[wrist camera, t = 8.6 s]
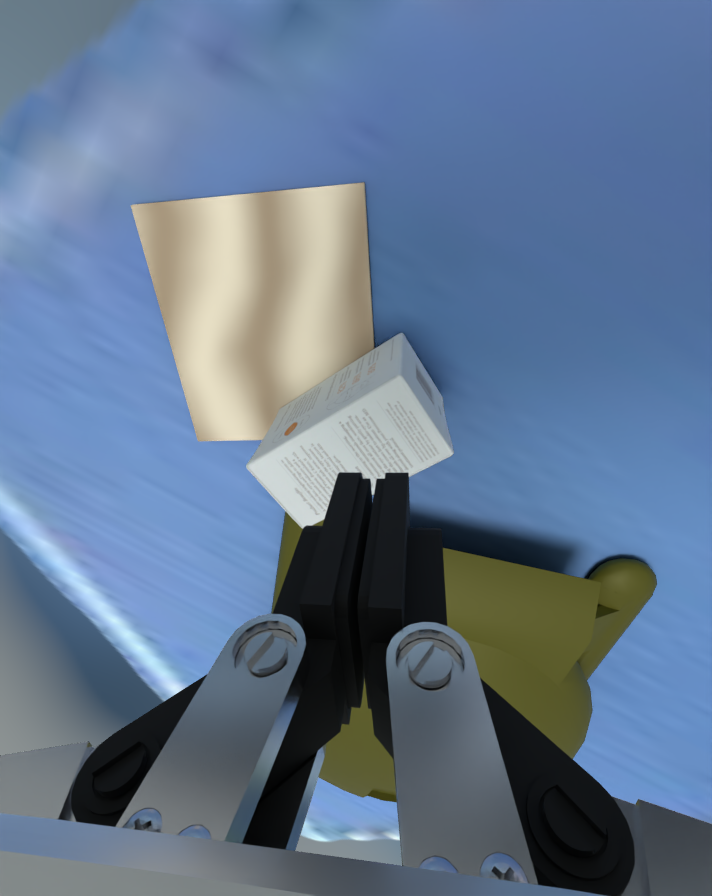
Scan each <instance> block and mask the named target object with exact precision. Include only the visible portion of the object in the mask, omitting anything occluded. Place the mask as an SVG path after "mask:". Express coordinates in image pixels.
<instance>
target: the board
mask: <svg viewBox="0 0 712 896" xmlns="http://www.w3.org/2000/svg"><path fill="white" fill-rule="evenodd" d="M131 208H132V212H133V215H134V219H135V222H136V226H137V229H138V233H139V236H140V240H141V243H142V247H143V250H144V254H145V257H146V261H147V264H148V268H149V271H150V275H151V278H152V282H153V285H154V289H155V292H156V296H157V299H158V303H159V306H160V310H161V313H162V317H163V320H164V324H165V327H166V331H167V334H168V338H169V341H170V345H171V348H172V352H173V355H174V359H175V362H176V366H177V369H178V373H179V376H180V380H181V383H182V387H183V390H184V394H185V397H186V401H187V404H188V408H189V411H190V415H191V418H192V422H193V425H194V429H195V432H196V436H197V439H198V441H233V440H263V439H264V437H265V435H266V434H267V432H268V430H269V429H270V427H271V425H272V423H273V422H274V420H275V418H276V416H277V413H278V411H279V409H280V408H282V407H284V406H285V405H287V404H288V403H290V402H292V401H293V400H295V399H296V398H298V397H299V396H301V395H303V394H304V393H306V392H307V391H309V390H310V389H312V388H313V387H315V386H317V385H318V384H320V383H321V382H323V381H324V380H326V379H327V378H329V377H331V376H332V375H334V374H335V373H337V372H338V371H340V370H342V369H343V368H345V367H346V366H348V365H349V364H351V363H353V362H354V361H356V360H357V359H359V358H361V357H362V356H364V355H365V354H367V353H368V352H370V351H372V350H373V349H375V347H374V330H373V313H372V296H371V279H370V262H369V246H368V229H367V212H366V195H365V183H354V184H344V185H333V186H323V187H313V188H302V189H292V190H282V191H271V192H261V193H251V194H240V195H230V196H219V197H209V198H199V199H188V200H178V201H168V202H157V203H147V204H137V205H131Z"/></svg>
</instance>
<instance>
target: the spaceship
mask: <svg viewBox="0 0 712 896" xmlns="http://www.w3.org/2000/svg"><path fill="white" fill-rule="evenodd" d="M323 522H324V520H322V521H320V522H318V523H316V524H314V525H312V526H322V525H323ZM302 530H303V529H302V528H301V527H300V526H299V525H298V524H297V523H296V522H295V521H294V520H293V518H292V517H291V516H290V515H289V514H288V513H287V512H286V511H285V518H284V525H283V532H282V540H281V547H280V554H279V561H278V569H277V576H276V583H275V590H274V597H273V605H272V612H271V614H272V613H273V611H274V608H275V605H276V602H277V599H278V597H279V594H280V591H281V588H282V585H283V583H284V580H285V577H286V574H287V571H288V569H289V566H290V563H291V560H292V557H293V555H294V552H295V549H296V546H297V543H298V541H299V538H300V535H301V532H302ZM443 560H444V577H445V594H446V610H447V626H448V627H450V628H451V629H453V630H454V631H456V632H457V633H459V634H460V635H461V636H462V637H463V638H464V639H465V641H466V642H467V643H468V644H469V647H470V649H471V651H472V653H473V655H474V659H475V662H476V666H477V669H478V673H479V676H480V678H481V679H482V680H483V681H484V682H486V683H487V684H488V685H489V686H490V687H491V688H492V689H494V690H495V691H496V692H497V693H498V694H499V695H500V696H501V697H503V698H504V699H505V700H506V701H507V702H508V703H509V704H510V705H512V706H513V707H514V708H515V709H516V710H517V711H518V712H520V713H521V714H522V715H523V716H524V717H525V718H526V719H527V720H529V721H530V722H531V723H532V724H533V725H534V726H535V727H536V728H538V729H539V730H540V731H541V732H542V733H543V734H544V735H545V736H547V737H548V738H549V739H550V740H551V741H552V742H553V743H555V744H556V745H557V746H558V747H559V748H560V749H561V750H562V751H564V752H565V753H566V754H567V755H568V756H569V757H570V758H571V759H573V758H574V756H575V755H576V753H577V752H578V750H579V749H580V747H581V746H582V744H583V742H584V741H585V737H586V734H587V730H588V726H589V722H590V718H591V714H592V701H591V691H590V687H589V685H588V682H587V680H588V678H589V677H590V676H591V674H592V673H593V672H594V671H595V669H596V668H597V667H598V665H599V664H600V663H601V661H602V660H603V659H604V658H605V656H606V655H607V654H608V652H609V651H610V650H611V648H612V647H613V646H614V645H615V643H616V642H617V641H618V639H619V638H620V637H621V635H622V634H623V633H624V632H625V630H626V629H627V628H628V626H629V625H630V624H631V622H632V621H633V620H634V618H635V617H636V616H637V615H638V613H639V612H640V611H641V609H642V608H643V607H644V605H645V604H646V603H647V602H648V600H649V599H650V598H651V596H652V595H653V592H654V590H655V588H656V585H657V580H656V575H655V574H654V572H653V571H652V569H651V568H650V567H649V566H648V565H647V564H645V563H643V562H641V561H638V560H635V559H624V558H619V559H614V560H609V561H607V562H605V563H603V564H601V565H600V566H599V567H598V568H597V569H596V570H595V571H594V572H593V573H591V575H590V576H589V578H588V579H584V578H579V577H574V576H570V575H565V574H561V573H556V572H552V571H547V570H542V569H538V568H533V567H529V566H524V565H520V564H515V563H510V562H506V561H501V560H497V559H492V558H488V557H483V556H478V555H474V554H469V553H465V552H460V551H456V550H451V549H446V548H443ZM326 744H327V745H326V751H325V757H324V760H323V763H322V767H321V770H320V773H319V776H318V777H319V778H321V779H323V780H325V781H327V782H329V783H331V784H333V785H334V786H336V787H338V788H340V789H342V790H344V791H347V792H349V793H352V794H355V795H357V796H360V797H365V796H371V797H374V798H377V799H380V800H384V801H392V802H397V799H396V787H395V775H394V764H393V758H392V757H391V756H390V754H389V753H388V752H387V751H386V749H385V748H384V747H383V746H382V744H381V743H380V742H379V740H378V739H377V738H376V737H375V735H374V729H373V720H372V711H371V709H368V703H367V695H366V686H365V679H364V687H363V696H362V703H361V707H360V708H353V707H352V709H351V716H350V723H349V725H346V724H342V725H341V732H340V733H338V734H337V735H336V736H335V737H334V738H332V739H331V740H330V741H329V742H328V743H326Z"/></svg>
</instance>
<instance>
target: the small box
mask: <svg viewBox="0 0 712 896" xmlns="http://www.w3.org/2000/svg"><path fill="white" fill-rule="evenodd" d="M453 453H454V450H453V445H452V442H451V438H450V434H449V430H448V426H447V422H446V417H445V412H444V406H443V397H442V395H441V394H440V392H439V390H438V389H437V387H436V386H435V384H434V382H433V381H432V379H431V377H430V376H429V374H428V373H427V371H426V370H425V368H424V366H423V365H422V363H421V361H420V360H419V358H418V357H417V355H416V353H415V352H414V350H413V348H412V347H411V345H410V344H409V342H408V340H407V339H406V337H405V335H404V334H403V333H399V334H397V335H396V336H394V337H393V338H391V339H389V340H388V341H386V342H384V343H383V344H381V345H380V346H378V347H376V348H375V349H373V350H372V351H370V352H368V353H367V354H365V355H364V356H362V357H361V358H359V359H357V360H356V361H354V362H353V363H351V364H349V365H348V366H346V367H345V368H343V369H342V370H340V371H338V372H337V373H335V374H334V375H332V376H331V377H329V378H327V379H326V380H324V381H323V382H321V383H320V384H318V385H317V386H315V387H313V388H312V389H310V390H309V391H307V392H306V393H304V394H303V395H301V396H299V397H298V398H296V399H295V400H293V401H292V402H290V403H288V404H287V405H285V406H284V407H282V408H280V409H279V411H278V413H277V416H276V418H275V420H274V422H273V423H272V425H271V427H270V429H269V430H268V432H267V434H266V435H265V437H264V439H263V440H262V442H261V444H260V445H259V447H258V449H257V450H256V452H255V453H254V455H253V456H252V458H251V459H250V461H249V462H248V463H247V465H246V467H247V469H248V470H249V471H250V472H251V474H252V475H253V476H254V477H255V478H256V479H257V480H258V481H259V482H260V484H261V485H262V486H263V487H264V488H265V489H266V490H267V491H268V492H269V493H270V494H271V496H272V497H273V498H274V499H275V500H276V501H277V502H278V503H279V504H280V505H281V506H282V508H283V509H284V510H285V511H286V512H287V513H288V514H289V515H290V516H291V517H292V518H293V520H294V521H295V522H296V523H297V524H298V525H299V526H300V527H301V528H302V529H303V528H304V527H305V526H306V525H311V526H312V525H314V524H316V523H318V522H320V521H322V520H324V519H325V515H326V512H327V509H328V505H329V502H330V499H331V495H332V492H333V489H334V485H335V482H336V479H337V475H338V473H339V472H361V473H362V476H363V478H370V480H371V490H372V495H374V492H375V486H376V480H377V478H378V479H385V473H409V477H410V476H412V475H414V474H416V473H418V472H420V471H422V470H424V469H426V468H428V467H430V466H432V465H434V464H436V463H438V462H440V461H442V460H444V459H446V458H448V457H450V456H452V455H453Z"/></svg>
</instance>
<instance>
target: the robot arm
mask: <svg viewBox="0 0 712 896" xmlns="http://www.w3.org/2000/svg"><path fill="white" fill-rule="evenodd" d="M364 679H365V686H366V695H367V703H368V709H371V711H372V720H373V729H374V735H375V737H376V738H377V739H378V740H379V742H380V743H381V744H382V746H383V747H384V748H385V749H386V751H387V752H388V753H389V754H390V756H391V757H392V758H393V764H394V775H395V787H396V799H397V811H398V822H399V834H400V846H401V858H402V866H400V865H393V864H385V863H378V862H371V861H364V860H356V859H349V858H342V857H334V856H326V855H320V854H312V853H305V852H298V851H295V850H296V847H297V844H298V841H299V837H300V834H301V831H302V828H303V825H304V821H305V818H306V815H307V812H308V808H309V805H310V802H311V799H312V796H313V792H314V789H315V786H316V783H317V780H318V776H319V773H320V770H321V767H322V763H323V760H324V757H325V751H326V745H327V744H326V743H328V742H329V741H330V740H331V739H332V738H334V737H335V736H336V735H337V734H338V733H340V732H341V725H342V724H346V725H349V723H350V716H351V709H352V707H353V708H360V707H361V703H362V696H363V687H364ZM0 896H712V824H710V823H707V822H704V821H701V820H698V819H695V818H693V817H690V816H687V815H684V814H681V813H678V812H675V811H672V810H669V809H666V808H663V807H660V806H657V805H655V804H652V803H649V802H646V801H643V800H640V799H638V801H637V803H636V805H635V804H632V803H629V802H626V801H623V800H621V799H618V798H615V797H612V796H611V795H610V794H609V793H608V792H607V791H606V790H605V789H604V788H603V787H602V785H601V784H600V783H599V782H597V781H596V780H595V779H594V778H593V777H592V776H591V775H590V774H588V773H587V772H586V771H585V770H584V769H583V768H582V767H580V766H579V765H578V764H577V763H576V762H575V761H574V760H573V759H571V758H570V757H569V756H568V755H567V754H566V753H565V752H564V751H562V750H561V749H560V748H559V747H558V746H557V745H556V744H555V743H553V742H552V741H551V740H550V739H549V738H548V737H547V736H545V735H544V734H543V733H542V732H541V731H540V730H539V729H538V728H536V727H535V726H534V725H533V724H532V723H531V722H530V721H529V720H527V719H526V718H525V717H524V716H523V715H522V714H521V713H520V712H518V711H517V710H516V709H515V708H514V707H513V706H512V705H510V704H509V703H508V702H507V701H506V700H505V699H504V698H503V697H501V696H500V695H499V694H498V693H497V692H496V691H495V690H494V689H492V688H491V687H490V686H489V685H488V684H487V683H486V682H484V681H483V680H482V679H481V678H480V676H479V673H478V669H477V666H476V662H475V659H474V655H473V653H472V651H471V649H470V647H469V644H468V643H467V642H466V641H465V639H464V638H463V637H462V636H461V635H460V634H459V633H457V632H456V631H454V630H453V629H451V628H450V627H448V626H447V610H446V594H445V577H444V560H443V544H442V530H441V528H410V506H409V473H385V479H378V478H377V480H376V486H375V492H374V498H373V503H372V490H371V480H370V478H363V476H362V473H361V472H339V473H338V475H337V479H336V482H335V485H334V489H333V492H332V495H331V499H330V502H329V505H328V509H327V512H326V515H325V519H324V522H323V525H322V526H311V525H306V526H305V527H304V528H303V530H302V532H301V535H300V538H299V541H298V543H297V546H296V549H295V552H294V555H293V557H292V560H291V563H290V566H289V569H288V571H287V574H286V577H285V580H284V583H283V585H282V588H281V591H280V594H279V597H278V599H277V602H276V605H275V608H274V611H273V613H272V614H267V615H262V616H258V617H256V618H254V619H251V620H249V621H247V622H246V623H244V624H243V625H242V626H241V627H239V628H238V629H237V630H236V631H235V632H234V633H233V635H232V636H231V637H230V638H229V640H228V641H227V643H226V645H225V646H224V648H223V650H222V651H221V653H220V655H219V656H218V658H217V659H216V661H215V663H214V664H213V666H212V668H211V669H210V671H209V673H208V674H207V675H205V676H204V677H202V678H201V679H199V680H198V681H196V682H194V683H193V684H191V685H190V686H188V687H187V688H185V689H183V690H182V691H180V692H179V693H177V694H176V695H174V696H172V697H171V698H169V699H168V700H166V701H165V702H163V703H162V704H160V705H158V706H157V707H155V708H154V709H152V710H150V711H149V712H148V713H146V714H144V715H143V716H141V717H139V718H138V719H137V720H135V721H133V722H132V723H130V724H129V725H127V726H125V727H124V728H122V729H121V730H119V731H117V732H116V733H114V734H113V735H112V736H110V737H109V738H108V739H106V740H105V741H104V742H103V743H102V744H100V745H99V746H93V747H92V745H91V744H90V742H89V741H87V742H80V743H74V744H68V745H62V746H55V747H49V748H44V749H37V750H31V751H24V752H18V753H12V754H6V755H0Z"/></svg>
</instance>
